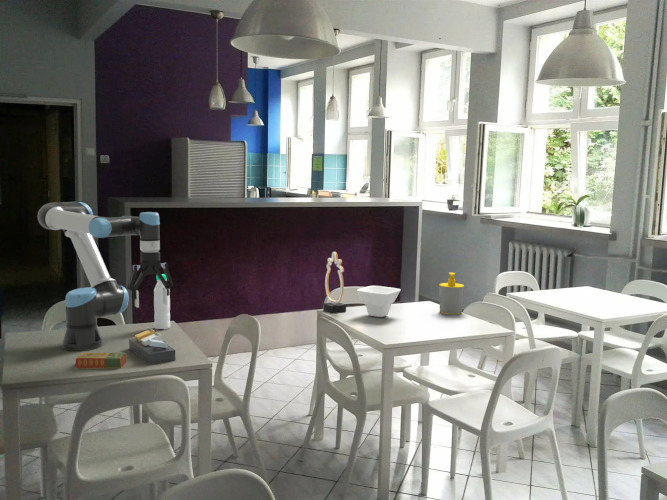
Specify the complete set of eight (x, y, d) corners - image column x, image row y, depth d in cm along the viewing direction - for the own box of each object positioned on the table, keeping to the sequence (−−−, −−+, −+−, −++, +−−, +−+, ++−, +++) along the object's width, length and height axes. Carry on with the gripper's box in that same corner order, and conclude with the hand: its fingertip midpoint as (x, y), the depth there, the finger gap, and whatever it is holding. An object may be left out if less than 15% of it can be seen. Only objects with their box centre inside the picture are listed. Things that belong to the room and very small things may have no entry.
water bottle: (172, 326, 287) (171, 273, 284) (167, 330, 280) (166, 276, 277) (157, 326, 288) (157, 273, 285) (152, 329, 281) (151, 275, 278)
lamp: (350, 313, 322) (351, 253, 319) (335, 314, 318) (336, 253, 314) (333, 307, 336) (334, 249, 333) (319, 308, 332) (320, 250, 328)
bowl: (402, 315, 319) (403, 288, 318) (385, 322, 303) (386, 294, 301) (371, 310, 329) (372, 285, 327) (352, 317, 313) (353, 290, 311)
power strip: (149, 364, 229) (149, 351, 229) (123, 344, 256) (123, 332, 255) (175, 360, 235) (175, 347, 234) (147, 340, 262) (147, 329, 261)
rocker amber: (139, 341, 244) (137, 337, 244) (135, 339, 248) (134, 334, 247) (155, 334, 248) (154, 330, 247) (152, 332, 251) (151, 328, 251)
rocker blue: (150, 345, 232) (151, 340, 232) (146, 343, 235) (147, 338, 235) (167, 348, 236) (168, 343, 236) (164, 345, 239) (165, 340, 239)
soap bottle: (437, 313, 324) (439, 274, 322) (438, 308, 337) (440, 270, 334) (462, 315, 321) (464, 275, 319) (463, 310, 334) (464, 271, 331)
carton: (82, 362, 231) (82, 351, 231) (126, 362, 232) (126, 351, 232) (75, 369, 223) (75, 358, 222) (121, 369, 224) (120, 357, 224)
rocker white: (145, 345, 238) (143, 341, 238) (141, 343, 241) (140, 339, 241) (162, 338, 242) (160, 334, 241) (158, 336, 245) (157, 332, 245)
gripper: (123, 253, 236) (124, 310, 238) (181, 250, 249) (182, 304, 251) (117, 251, 242) (119, 306, 244) (174, 248, 255) (175, 300, 257)
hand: (151, 305), depth 248 cm, fingers open, 11 cm apart
